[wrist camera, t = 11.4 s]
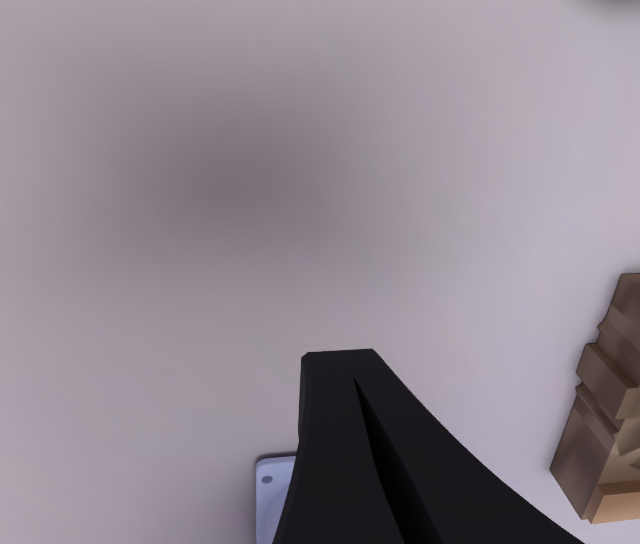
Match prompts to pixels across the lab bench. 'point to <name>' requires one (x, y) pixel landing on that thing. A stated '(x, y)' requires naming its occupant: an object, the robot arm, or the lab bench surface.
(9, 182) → the lab bench surface
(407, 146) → the lab bench surface
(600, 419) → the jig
